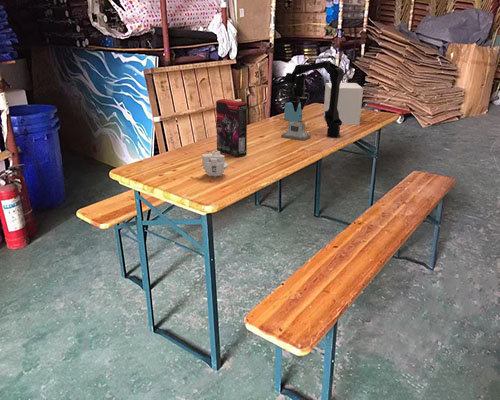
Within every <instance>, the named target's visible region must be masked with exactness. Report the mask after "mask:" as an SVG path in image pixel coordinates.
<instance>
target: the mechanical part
mask: <svg viewBox="0 0 500 400" xmlns="http://www.w3.org/2000/svg"><path fill="white" fill-rule="evenodd" d="M201 156H202V157H201V160H202V166H203V169H204V173H207V176H209V177H213V178H214V179H215V178H217V177H219V176H220V177H223V174H224V173H225V170H227V169H228V167H229V165H228V163H227V162H226V161H225V160H226V159H225V157H226V156H225V155H223V154H221V152H220V151H217V150H216V151H214V150H213V151H211V152H210V153H203V154H201Z"/></svg>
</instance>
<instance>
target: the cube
mask: <svg viewBox="0 0 500 400" xmlns="http://www.w3.org/2000/svg"><path fill="white" fill-rule="evenodd" d="M331 85H332V84H331V82H325V89H324V104H323V116H322V117H323V118H324V117H325V111H328V109H329V104H330V94H331ZM363 93H364V87H362V86H361V85H359V84H358V83H357V82H341V83H340V88H339V96H338V105H337V109H338V112H339V119H340V120H341V121H342V125H341V126H344V125H345V126H360V124H361V123H360V122H361V115H362V114H361V113H362V106H363V105H362V104H363V95H364V94H363ZM324 120H325V118H324Z"/></svg>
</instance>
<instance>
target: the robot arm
mask: <svg viewBox="0 0 500 400" xmlns="http://www.w3.org/2000/svg"><path fill="white" fill-rule="evenodd" d="M319 69H320V70H321V69H324V70H325V71H326V73H327V74H328V75H329V80H330V83H331V84H332V85H331V94H330V104H329V109H328V111H325V117H323V118H325V119H324V121H325V122H326V126H327V127H328V128H327V132H326V137H329V138H335V139H336V138H339V137H341V134H340V133H341V132H340V131H341V126H343V125H342V121H341V120H340V119H339V112H338V109H337V105H338V96H339V88H340V83H342V81H343V80H344V79H343V78H344V76H345V75H344V74H345V71H344V70H343V68H342V67H339V66H338V65H337V64H335V63H333V62H332V61H330V60H324V61H319V62H313V63H311V64H308V63H301V64H295V66H294V69H293V71H292V72H286V73H285V74H286V75H285V76H284V79H283V80H284V84H286V85H294V87H293V89H291V90H290V89H286V90H285V95H286V97H287V98H288V101H289V102H291V103H292V104H293V108H294V111H295V112H297V109H298V106H299V104H301V110H302V111H303V109H304V108H305V106H306V104H307V102H308V100H309V99H310V97H311V94H310V93H309V92H305V90H306V86H305V81H306V79H309V76H307V73H308V72H310V71H315V70H319Z"/></svg>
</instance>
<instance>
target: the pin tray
mask: <svg viewBox="0 0 500 400" xmlns="http://www.w3.org/2000/svg"><path fill="white" fill-rule="evenodd" d="M282 133H283V134H281V135H280V138H281V139H282V138H283V139H289V140H290V139H291V140H295V141H296V140H297V141H301V142H304V141H306V140H308V139H310V138H311V137H312V136H311V134H310V131H309V130H307V131H306V134H304V133H302V136H295V135H288V131H286V130H285V129H283V132H282Z"/></svg>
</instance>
